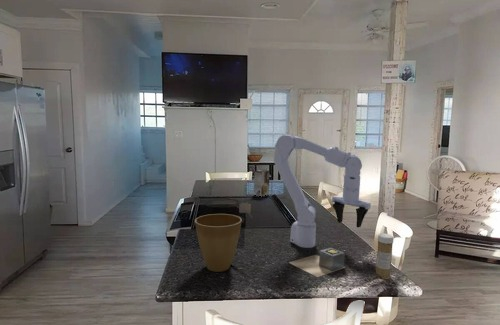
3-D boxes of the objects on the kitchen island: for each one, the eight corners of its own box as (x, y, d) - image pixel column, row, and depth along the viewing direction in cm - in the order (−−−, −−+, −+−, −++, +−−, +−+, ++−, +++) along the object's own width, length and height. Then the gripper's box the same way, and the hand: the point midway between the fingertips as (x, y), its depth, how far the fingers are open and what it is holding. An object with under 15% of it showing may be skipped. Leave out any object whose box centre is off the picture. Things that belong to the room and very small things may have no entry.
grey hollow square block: (318, 265, 115) (319, 250, 114) (330, 261, 118) (331, 247, 118) (332, 271, 110) (333, 256, 110) (343, 267, 114) (344, 252, 113)
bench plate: (288, 265, 117) (288, 262, 117) (315, 257, 124) (315, 254, 124) (317, 280, 106) (317, 277, 106) (345, 270, 114) (345, 267, 114)
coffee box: (261, 193, 232) (261, 169, 230) (269, 194, 228) (270, 170, 226) (253, 195, 224) (253, 170, 223) (261, 197, 221) (262, 171, 219)
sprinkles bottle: (378, 272, 113) (381, 231, 112) (392, 276, 110) (396, 235, 109) (372, 276, 110) (375, 235, 108) (387, 281, 107) (390, 238, 105)
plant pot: (237, 257, 122) (238, 212, 120) (243, 276, 108) (244, 225, 106) (194, 258, 120) (195, 213, 118) (194, 278, 105) (194, 226, 104)
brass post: (326, 268, 115) (327, 251, 114) (331, 267, 116) (332, 249, 115) (332, 271, 113) (333, 253, 112) (337, 269, 114) (338, 252, 114)
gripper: (328, 186, 130) (326, 222, 132) (365, 193, 120) (362, 231, 122) (338, 184, 135) (336, 218, 137) (374, 190, 125) (371, 227, 127)
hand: (349, 224), depth 130 cm, fingers open, 7 cm apart
